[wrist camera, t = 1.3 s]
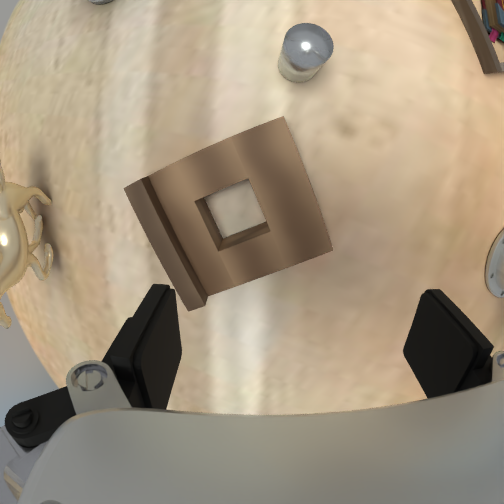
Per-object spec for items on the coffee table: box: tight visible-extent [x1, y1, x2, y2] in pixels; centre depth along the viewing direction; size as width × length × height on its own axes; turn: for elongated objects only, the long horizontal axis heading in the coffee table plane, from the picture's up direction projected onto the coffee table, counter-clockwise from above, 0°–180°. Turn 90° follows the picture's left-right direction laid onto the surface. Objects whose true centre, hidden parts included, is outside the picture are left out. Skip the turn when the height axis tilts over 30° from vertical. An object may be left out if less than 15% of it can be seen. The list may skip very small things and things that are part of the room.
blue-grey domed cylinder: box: [278, 23, 333, 83], centre depth 23 cm, size 4×4×8 cm
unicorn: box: [0, 161, 53, 329], centre depth 25 cm, size 20×4×17 cm, turn 179°
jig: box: [124, 116, 333, 311], centre depth 30 cm, size 16×14×6 cm
